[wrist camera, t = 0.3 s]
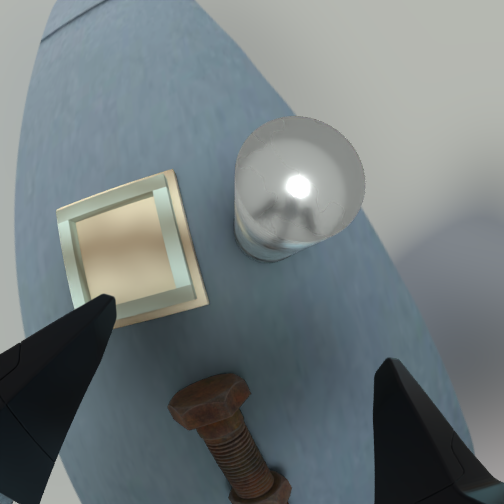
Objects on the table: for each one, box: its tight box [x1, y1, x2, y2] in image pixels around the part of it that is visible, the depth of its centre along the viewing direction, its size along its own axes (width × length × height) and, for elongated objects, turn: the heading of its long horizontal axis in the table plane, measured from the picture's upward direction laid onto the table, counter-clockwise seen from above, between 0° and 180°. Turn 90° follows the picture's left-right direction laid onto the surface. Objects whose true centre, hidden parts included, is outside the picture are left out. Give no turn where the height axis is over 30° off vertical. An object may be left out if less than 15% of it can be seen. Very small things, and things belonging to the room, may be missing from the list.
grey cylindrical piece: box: [234, 116, 365, 263], centre depth 17 cm, size 5×5×12 cm
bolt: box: [168, 373, 292, 504], centre depth 20 cm, size 6×5×15 cm
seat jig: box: [56, 169, 209, 329], centre depth 22 cm, size 10×10×2 cm
